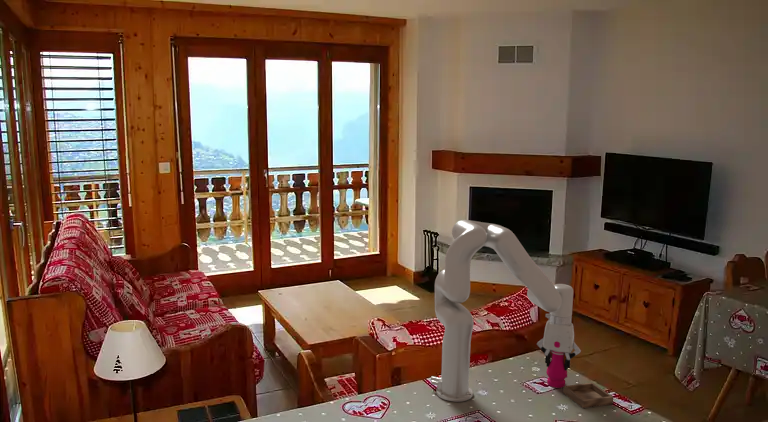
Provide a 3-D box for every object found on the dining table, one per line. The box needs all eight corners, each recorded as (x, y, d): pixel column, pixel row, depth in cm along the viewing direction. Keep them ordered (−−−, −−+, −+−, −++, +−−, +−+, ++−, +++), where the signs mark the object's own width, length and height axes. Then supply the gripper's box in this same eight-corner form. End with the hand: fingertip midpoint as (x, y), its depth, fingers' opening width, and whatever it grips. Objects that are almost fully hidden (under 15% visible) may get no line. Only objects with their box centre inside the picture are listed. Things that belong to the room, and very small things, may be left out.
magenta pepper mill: (568, 388, 213) (572, 335, 209) (548, 388, 213) (552, 334, 210) (563, 380, 220) (566, 328, 217) (543, 379, 220) (546, 327, 217)
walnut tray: (583, 408, 198) (583, 401, 198) (563, 393, 209) (563, 386, 209) (612, 404, 202) (613, 397, 201) (591, 389, 212) (592, 382, 212)
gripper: (533, 317, 213) (530, 365, 216) (583, 326, 205) (580, 376, 208) (538, 312, 220) (536, 358, 222) (587, 320, 212) (583, 368, 214)
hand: (557, 366), depth 215 cm, fingers closed on magenta pepper mill, 5 cm apart
